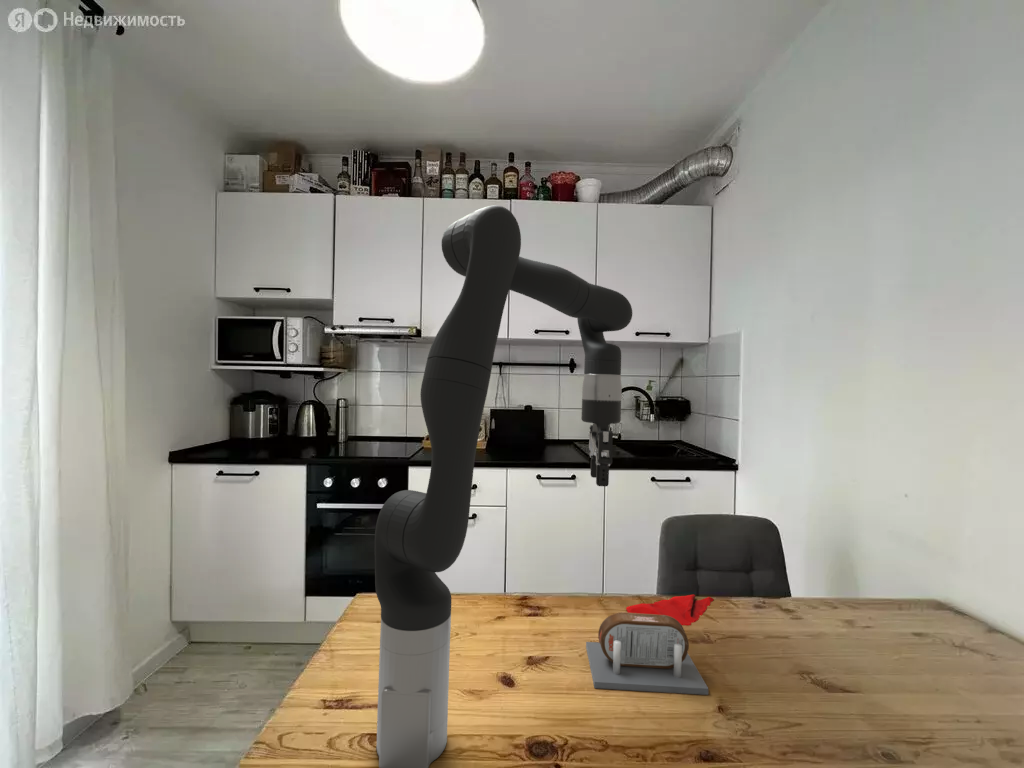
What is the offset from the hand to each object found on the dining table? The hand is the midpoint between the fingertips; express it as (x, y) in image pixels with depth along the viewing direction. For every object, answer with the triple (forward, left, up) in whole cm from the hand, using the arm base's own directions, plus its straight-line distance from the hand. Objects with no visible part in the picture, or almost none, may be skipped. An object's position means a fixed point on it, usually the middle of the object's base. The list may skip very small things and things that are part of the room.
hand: (598, 481), depth 92 cm
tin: (-11, -7, -29) cm, 32 cm away
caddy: (-10, -7, -30) cm, 32 cm away
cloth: (+13, -18, -31) cm, 38 cm away
